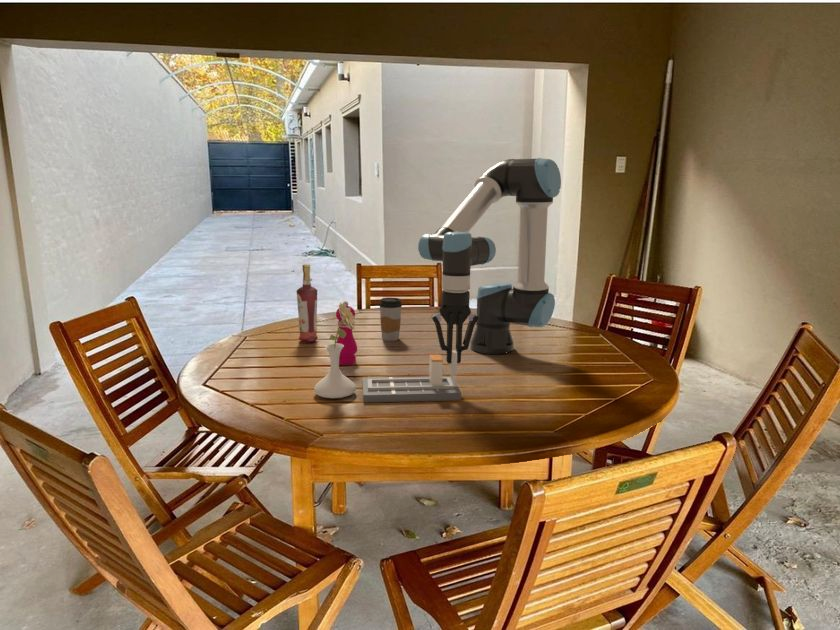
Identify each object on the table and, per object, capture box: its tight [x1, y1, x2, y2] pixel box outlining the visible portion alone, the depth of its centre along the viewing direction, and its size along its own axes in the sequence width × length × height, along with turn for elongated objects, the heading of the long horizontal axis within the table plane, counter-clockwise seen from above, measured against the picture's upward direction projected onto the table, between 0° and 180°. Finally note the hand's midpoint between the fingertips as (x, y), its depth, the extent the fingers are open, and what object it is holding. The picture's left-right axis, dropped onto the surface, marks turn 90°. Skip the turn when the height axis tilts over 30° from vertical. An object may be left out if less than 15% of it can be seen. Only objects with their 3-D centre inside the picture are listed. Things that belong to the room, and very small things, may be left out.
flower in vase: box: [313, 302, 357, 399], centre depth 154 cm, size 13×11×25 cm
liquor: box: [296, 264, 319, 344], centre depth 206 cm, size 7×7×28 cm
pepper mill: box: [335, 300, 358, 366], centre depth 183 cm, size 7×7×20 cm
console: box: [362, 375, 462, 403], centre depth 159 cm, size 26×14×3 cm, turn 96°
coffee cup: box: [378, 297, 403, 342], centre depth 212 cm, size 8×8×15 cm
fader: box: [428, 354, 444, 385], centre depth 158 cm, size 3×5×8 cm, turn 6°
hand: (453, 374), depth 159 cm, fingers closed
